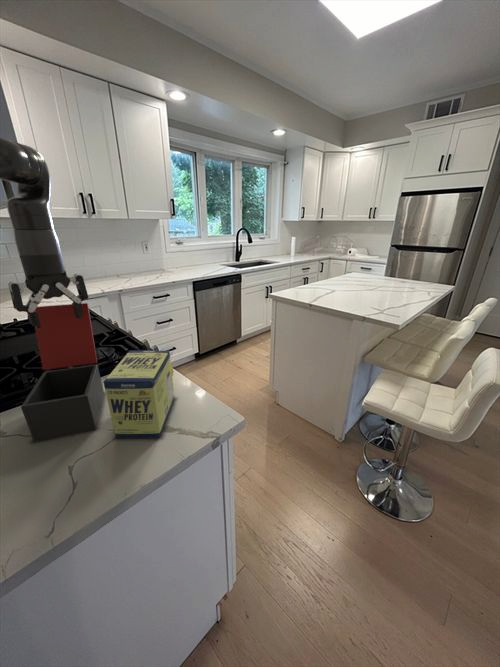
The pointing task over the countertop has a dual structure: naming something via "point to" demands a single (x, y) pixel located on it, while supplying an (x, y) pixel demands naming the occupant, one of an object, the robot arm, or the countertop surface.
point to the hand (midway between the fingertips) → (59, 322)
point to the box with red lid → (64, 402)
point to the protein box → (140, 394)
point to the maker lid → (65, 337)
